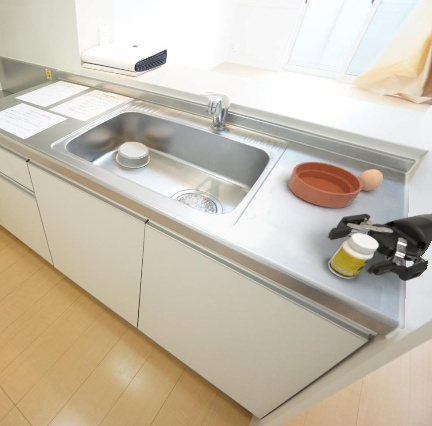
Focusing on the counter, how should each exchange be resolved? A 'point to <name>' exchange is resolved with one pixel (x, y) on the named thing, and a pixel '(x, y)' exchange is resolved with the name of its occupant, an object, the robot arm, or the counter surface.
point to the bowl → (324, 184)
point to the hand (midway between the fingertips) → (349, 251)
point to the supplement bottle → (353, 255)
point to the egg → (371, 179)
